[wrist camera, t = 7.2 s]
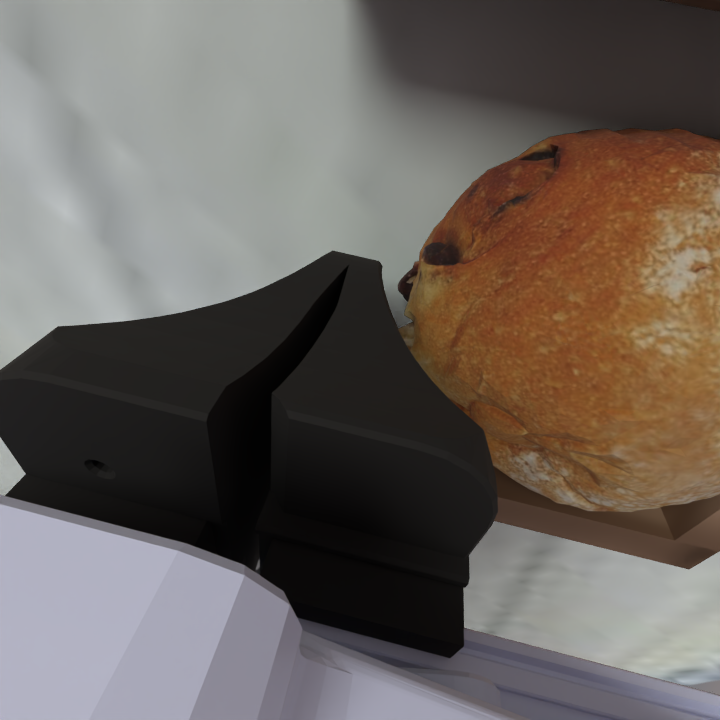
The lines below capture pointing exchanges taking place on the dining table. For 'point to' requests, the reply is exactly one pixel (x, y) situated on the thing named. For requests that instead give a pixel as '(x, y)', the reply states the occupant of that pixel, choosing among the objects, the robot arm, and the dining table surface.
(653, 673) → the dining table surface
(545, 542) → the dining table surface
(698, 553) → the roll holder
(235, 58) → the dining table surface
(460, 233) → the bread roll
